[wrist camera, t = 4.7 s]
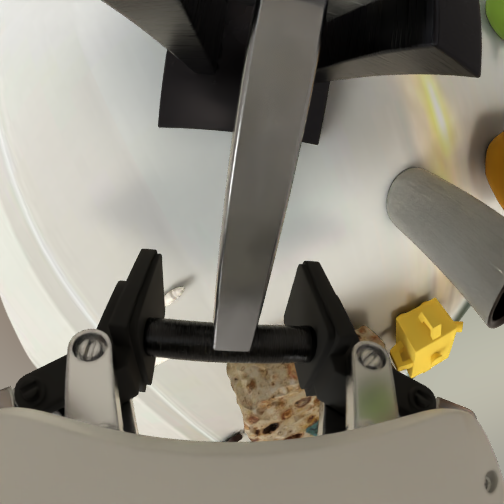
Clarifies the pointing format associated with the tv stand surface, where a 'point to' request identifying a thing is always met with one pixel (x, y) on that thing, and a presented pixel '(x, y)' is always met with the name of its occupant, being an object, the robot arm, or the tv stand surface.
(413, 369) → the toy block
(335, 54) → the lever bracket
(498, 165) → the apple
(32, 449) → the robot arm
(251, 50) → the press lever
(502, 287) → the planter
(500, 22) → the snail figurine
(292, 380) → the rock
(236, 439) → the kitchen knife
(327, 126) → the tv stand surface
